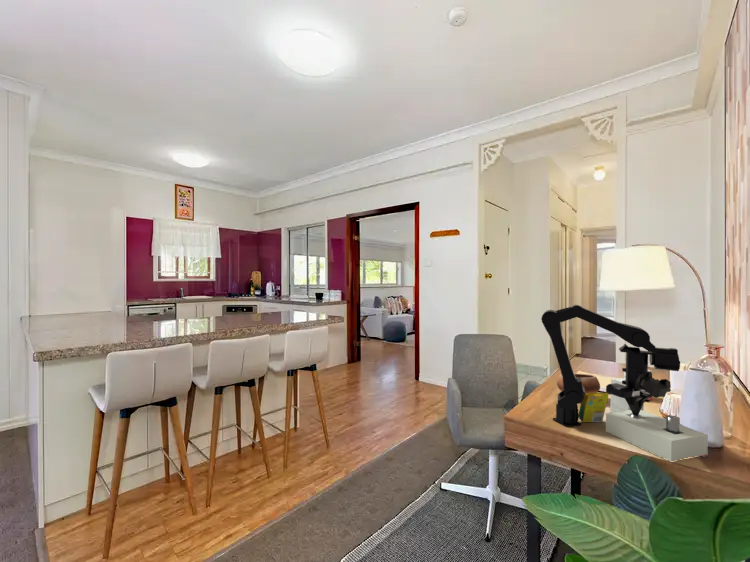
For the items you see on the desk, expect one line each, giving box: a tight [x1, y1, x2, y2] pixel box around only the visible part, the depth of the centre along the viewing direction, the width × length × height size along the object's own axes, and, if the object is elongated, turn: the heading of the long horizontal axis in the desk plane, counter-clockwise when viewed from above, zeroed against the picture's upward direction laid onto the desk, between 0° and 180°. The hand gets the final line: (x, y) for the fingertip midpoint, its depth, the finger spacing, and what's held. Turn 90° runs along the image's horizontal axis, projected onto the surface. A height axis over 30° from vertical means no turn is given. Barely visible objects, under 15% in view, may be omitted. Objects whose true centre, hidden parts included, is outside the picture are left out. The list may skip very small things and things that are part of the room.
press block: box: [605, 409, 709, 461], centre depth 109 cm, size 14×20×6 cm
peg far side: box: [665, 414, 681, 434], centre depth 103 cm, size 3×3×6 cm
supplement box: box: [609, 377, 645, 413], centre depth 130 cm, size 7×7×13 cm
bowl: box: [556, 372, 601, 393], centre depth 149 cm, size 16×16×10 cm
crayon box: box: [578, 392, 610, 423], centre depth 123 cm, size 7×3×12 cm, turn 93°
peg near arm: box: [630, 413, 642, 419], centre depth 114 cm, size 3×3×6 cm
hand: (635, 415), depth 114 cm, fingers closed, pressing on peg near arm
